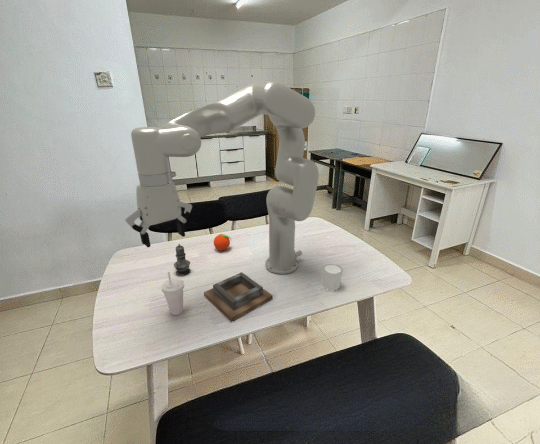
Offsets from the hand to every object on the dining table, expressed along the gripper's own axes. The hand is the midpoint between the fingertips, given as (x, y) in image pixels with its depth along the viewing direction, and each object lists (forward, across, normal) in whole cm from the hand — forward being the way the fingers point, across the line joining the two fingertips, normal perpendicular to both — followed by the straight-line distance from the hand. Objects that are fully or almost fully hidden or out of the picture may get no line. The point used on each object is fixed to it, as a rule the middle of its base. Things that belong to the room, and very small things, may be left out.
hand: (165, 240), depth 79 cm
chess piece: (+25, -11, -19) cm, 33 cm away
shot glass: (+24, -46, +23) cm, 57 cm away
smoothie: (+25, 0, 0) cm, 25 cm away
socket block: (+24, -18, +7) cm, 31 cm away
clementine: (+24, -32, -24) cm, 47 cm away
